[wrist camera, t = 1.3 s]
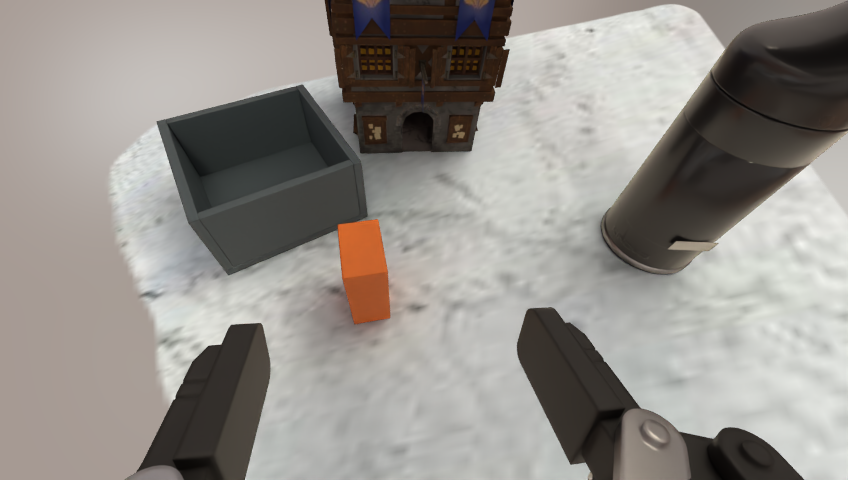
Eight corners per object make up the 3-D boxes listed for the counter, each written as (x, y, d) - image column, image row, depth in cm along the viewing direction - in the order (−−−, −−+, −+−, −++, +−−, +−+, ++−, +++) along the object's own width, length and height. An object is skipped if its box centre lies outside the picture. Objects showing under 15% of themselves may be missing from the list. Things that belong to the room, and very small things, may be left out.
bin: (316, 141, 45) (302, 84, 39) (367, 216, 38) (361, 161, 32) (194, 180, 40) (156, 121, 34) (228, 275, 33) (188, 223, 27)
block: (382, 271, 34) (378, 218, 28) (390, 318, 31) (387, 271, 25) (349, 276, 34) (337, 223, 27) (354, 324, 31) (342, 279, 24)
